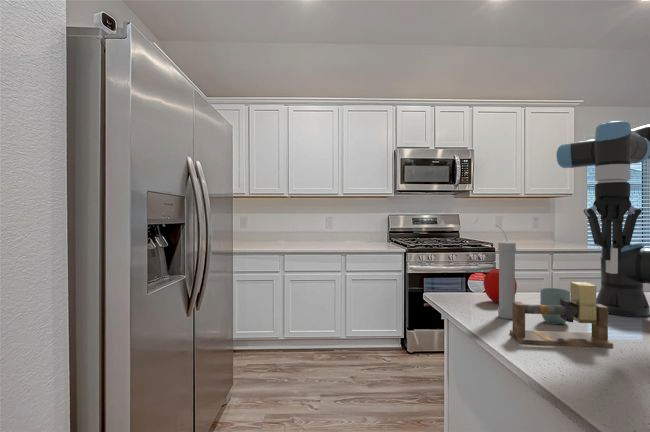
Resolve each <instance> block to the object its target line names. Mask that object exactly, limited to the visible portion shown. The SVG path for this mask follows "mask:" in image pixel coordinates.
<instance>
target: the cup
mask: <svg viewBox="0 0 650 432" xmlns="http://www.w3.org/2000/svg"><path fill="white" fill-rule="evenodd" d="M539 293H540V295H539V299H540V304H539V305H560V299H566V300H568V301H570V290H568V289H563V288H556V287H545V288H544V287H543V288H540V292H539ZM541 316H542V318H543V320H544V321H545V322H546V323H549V324H553V325H562V324H566V323H567V321H566V320H564V319H562V318H561V317H560V315H554V314H541Z"/></svg>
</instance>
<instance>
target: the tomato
mask: <svg viewBox="0 0 650 432" xmlns="http://www.w3.org/2000/svg"><path fill="white" fill-rule="evenodd" d="M483 288H484V289H483V290H484V292H485V294H486V296H487V297H488V298H489V300H490V301H493V303H498V304H499V268H494V267H493V268H492V269H490V271H488V272H487V273H486V274H485V276H484V278H483ZM517 288H518V287H517V280H516V279H515V295H516V294H517Z"/></svg>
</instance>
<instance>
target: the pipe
mask: <svg viewBox="0 0 650 432" xmlns="http://www.w3.org/2000/svg"><path fill="white" fill-rule="evenodd" d="M495 226H496V227H498V228H499V229H500V230H501V231H502V232H503V234H504V237H505V239H506V241H500V242H499V241H498V242H497V243H498V244H497V251H498V269H499V303H498V307H497V311H498V312H497V313H498V317H499V318H501V319H504V320H505V319H506V320H513V302H516V294H515V280H516V272H515V271H516V268H515V267H516V261H515V259H516V253H515V252H516V251H517V243H516V242H513V241H508V239H507V235H506V233H505V231H504V230H503V229H502V228H501V227H500V226H499V225H497V224H495Z"/></svg>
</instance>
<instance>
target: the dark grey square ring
mask: <svg viewBox="0 0 650 432" xmlns="http://www.w3.org/2000/svg"><path fill="white" fill-rule="evenodd" d="M560 305H561V306H567V315H560V317H561V318H562V319H564V320H566V321H567V322H568V323H574V320H573V303H572V302H570V301H568V300H566V299H560ZM567 322H566V323H567Z"/></svg>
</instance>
